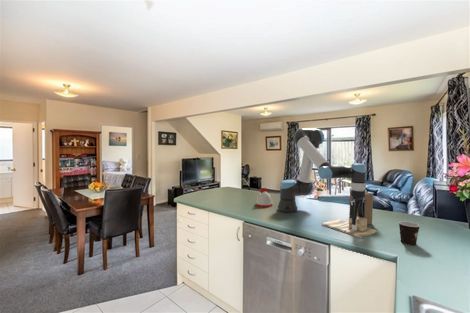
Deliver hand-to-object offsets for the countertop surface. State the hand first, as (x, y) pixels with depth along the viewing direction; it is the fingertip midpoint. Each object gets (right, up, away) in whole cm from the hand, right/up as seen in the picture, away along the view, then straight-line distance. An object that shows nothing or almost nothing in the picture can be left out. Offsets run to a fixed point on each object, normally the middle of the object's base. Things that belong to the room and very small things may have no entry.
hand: (357, 228), depth 138 cm
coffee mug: (+17, -3, -16) cm, 23 cm away
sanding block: (0, 0, 0) cm, 0 cm away
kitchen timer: (-47, +1, +61) cm, 77 cm away
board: (-3, -1, +5) cm, 6 cm away
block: (+11, -1, +16) cm, 20 cm away
